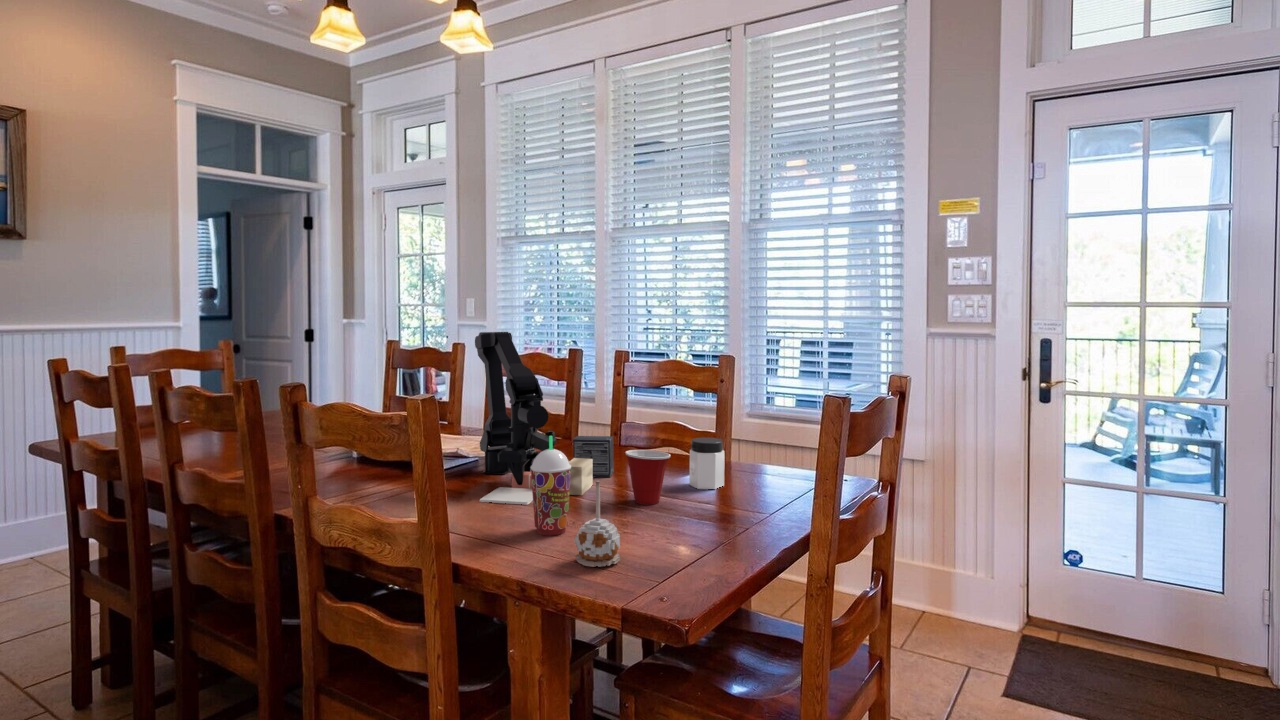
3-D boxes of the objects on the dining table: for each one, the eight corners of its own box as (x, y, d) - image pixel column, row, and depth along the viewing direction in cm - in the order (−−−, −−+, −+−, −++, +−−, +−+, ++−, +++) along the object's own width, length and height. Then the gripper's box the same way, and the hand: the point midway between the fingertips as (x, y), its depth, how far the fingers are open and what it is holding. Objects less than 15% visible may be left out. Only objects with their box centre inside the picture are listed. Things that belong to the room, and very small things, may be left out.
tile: (479, 501, 173) (479, 499, 173) (499, 489, 184) (499, 487, 184) (527, 504, 170) (527, 502, 170) (544, 492, 182) (544, 489, 182)
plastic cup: (679, 503, 172) (679, 453, 171) (640, 510, 166) (640, 458, 165) (655, 493, 181) (655, 445, 180) (617, 499, 175) (617, 450, 175)
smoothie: (554, 540, 145) (553, 441, 143) (522, 533, 149) (521, 437, 147) (579, 529, 152) (579, 434, 150) (548, 523, 156) (547, 431, 155)
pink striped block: (512, 488, 186) (511, 474, 186) (517, 484, 190) (517, 470, 190) (564, 491, 183) (564, 477, 183) (569, 487, 187) (569, 473, 187)
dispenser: (539, 492, 181) (539, 465, 181) (552, 483, 191) (552, 456, 190) (581, 495, 179) (581, 467, 178) (592, 485, 189) (592, 458, 188)
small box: (614, 472, 204) (614, 435, 203) (611, 477, 197) (611, 439, 197) (577, 471, 205) (576, 434, 204) (572, 476, 198) (572, 438, 198)
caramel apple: (568, 565, 131) (568, 483, 130) (589, 552, 138) (588, 474, 137) (607, 572, 128) (607, 488, 127) (626, 558, 135) (626, 478, 134)
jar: (684, 483, 191) (685, 438, 190) (712, 480, 194) (712, 436, 194) (700, 491, 183) (701, 444, 182) (728, 488, 186) (729, 442, 185)
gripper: (539, 430, 175) (540, 493, 177) (563, 418, 194) (564, 476, 195) (496, 428, 178) (497, 491, 179) (524, 416, 196) (524, 473, 197)
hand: (522, 482), depth 187 cm, fingers closed on pink striped block, 4 cm apart
